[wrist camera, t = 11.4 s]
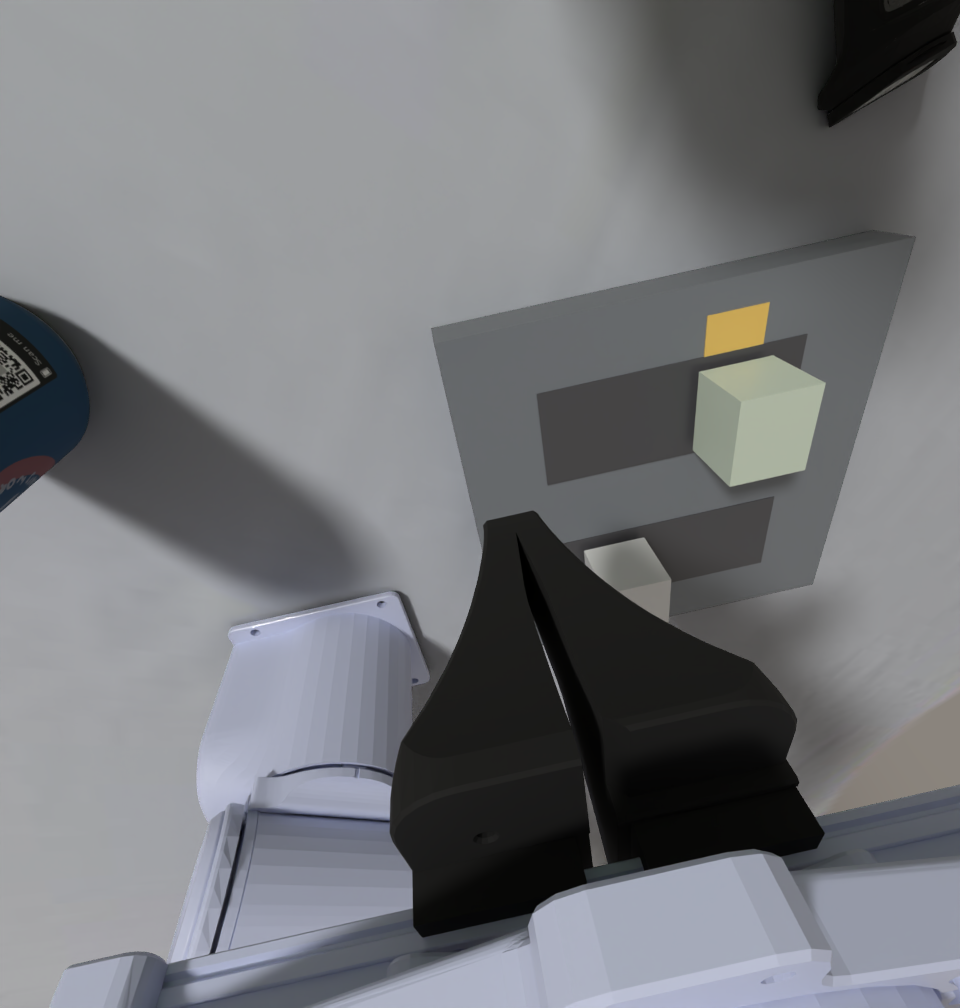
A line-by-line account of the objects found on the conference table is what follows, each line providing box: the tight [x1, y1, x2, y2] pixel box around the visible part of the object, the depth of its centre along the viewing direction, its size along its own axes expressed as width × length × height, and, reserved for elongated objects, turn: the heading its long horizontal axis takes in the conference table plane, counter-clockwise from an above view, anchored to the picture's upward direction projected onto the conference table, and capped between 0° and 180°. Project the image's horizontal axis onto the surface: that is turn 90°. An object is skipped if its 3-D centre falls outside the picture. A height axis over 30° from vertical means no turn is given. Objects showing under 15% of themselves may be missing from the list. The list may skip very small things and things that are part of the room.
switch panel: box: [431, 230, 916, 645], centre depth 24 cm, size 18×18×2 cm
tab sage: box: [693, 355, 826, 487], centre depth 20 cm, size 3×4×3 cm
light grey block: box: [584, 537, 671, 623], centre depth 24 cm, size 3×4×3 cm
